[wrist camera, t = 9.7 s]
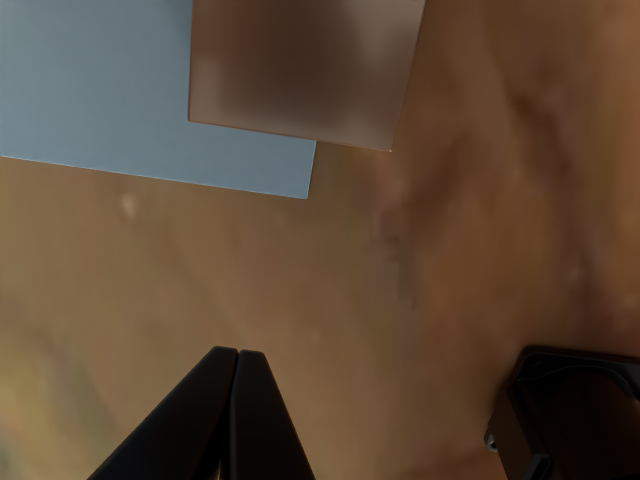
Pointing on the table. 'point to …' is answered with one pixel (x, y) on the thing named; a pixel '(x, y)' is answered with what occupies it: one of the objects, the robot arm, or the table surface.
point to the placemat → (125, 98)
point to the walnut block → (304, 67)
